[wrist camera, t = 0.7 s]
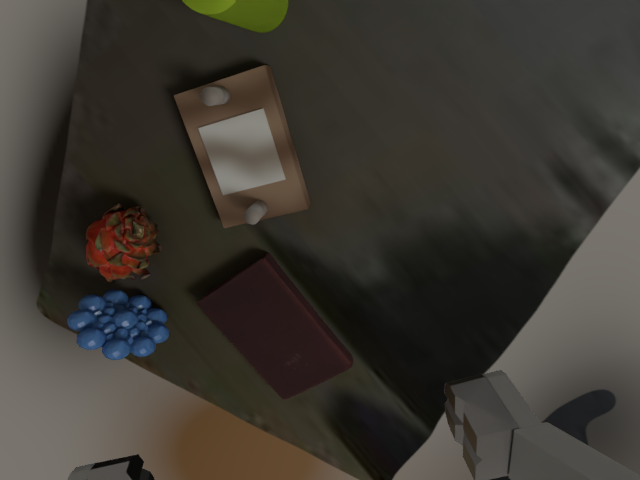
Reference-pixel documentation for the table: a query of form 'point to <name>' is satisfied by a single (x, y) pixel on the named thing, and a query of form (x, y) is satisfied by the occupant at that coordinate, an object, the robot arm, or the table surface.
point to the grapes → (119, 324)
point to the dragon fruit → (122, 243)
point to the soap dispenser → (243, 12)
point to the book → (276, 328)
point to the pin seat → (244, 147)
